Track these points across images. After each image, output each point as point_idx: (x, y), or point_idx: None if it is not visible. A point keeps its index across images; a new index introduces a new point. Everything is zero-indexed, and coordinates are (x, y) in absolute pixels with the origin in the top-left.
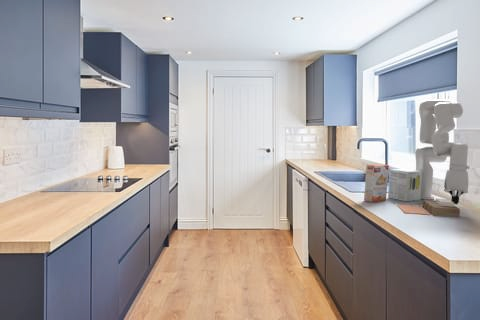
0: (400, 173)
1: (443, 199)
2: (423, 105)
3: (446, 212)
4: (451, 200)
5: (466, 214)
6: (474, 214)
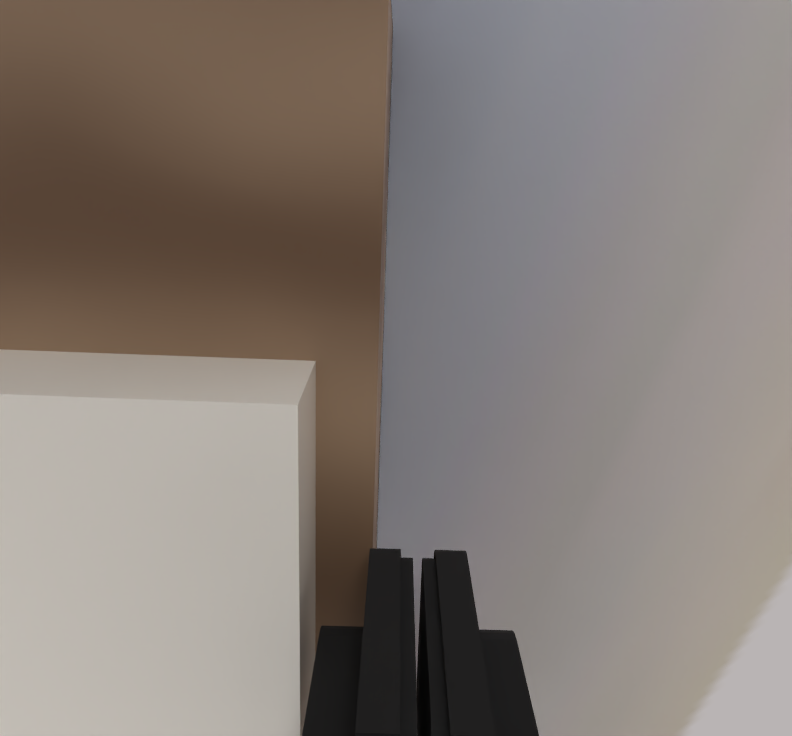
0: None
1: (90, 515)
2: None
3: None
4: (317, 644)
5: (608, 585)
6: (788, 540)
